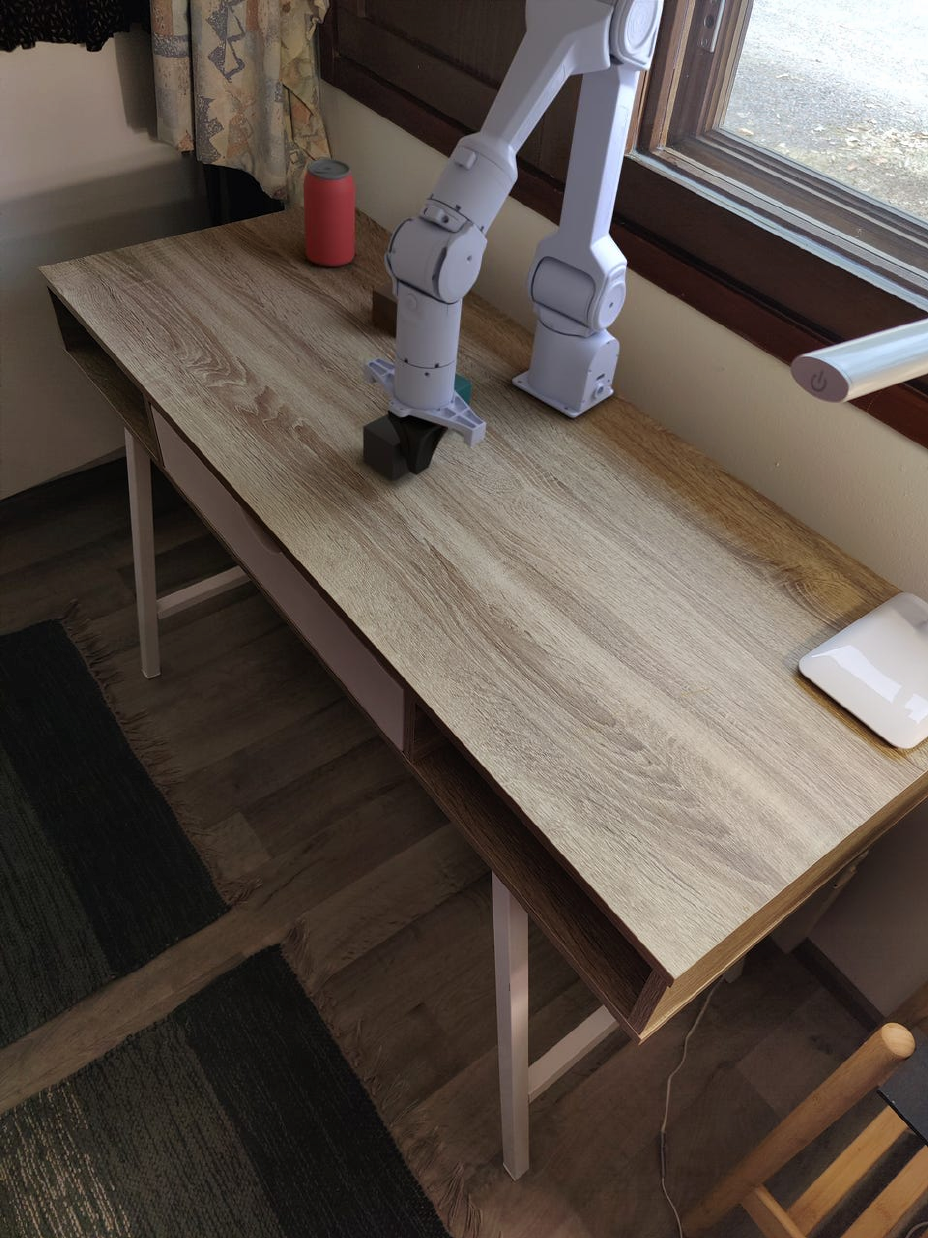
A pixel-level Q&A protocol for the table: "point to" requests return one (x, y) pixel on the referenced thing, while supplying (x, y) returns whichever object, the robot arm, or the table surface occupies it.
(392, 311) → the walnut block
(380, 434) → the charcoal block
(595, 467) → the table surface
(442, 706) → the table surface
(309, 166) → the beer can
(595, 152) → the robot arm
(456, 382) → the teal block
